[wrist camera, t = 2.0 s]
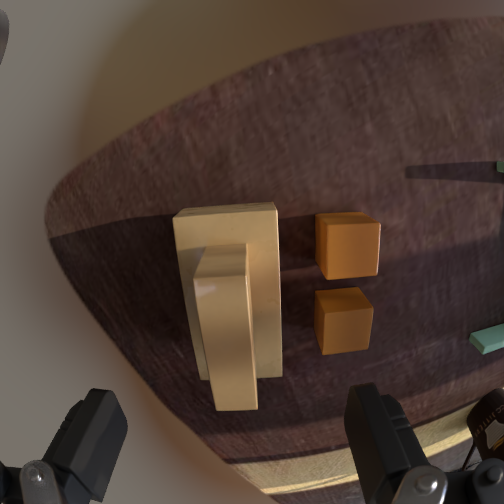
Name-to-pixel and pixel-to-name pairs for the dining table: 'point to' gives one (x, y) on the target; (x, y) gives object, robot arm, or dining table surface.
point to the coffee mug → (487, 427)
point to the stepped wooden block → (232, 296)
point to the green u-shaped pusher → (493, 335)
